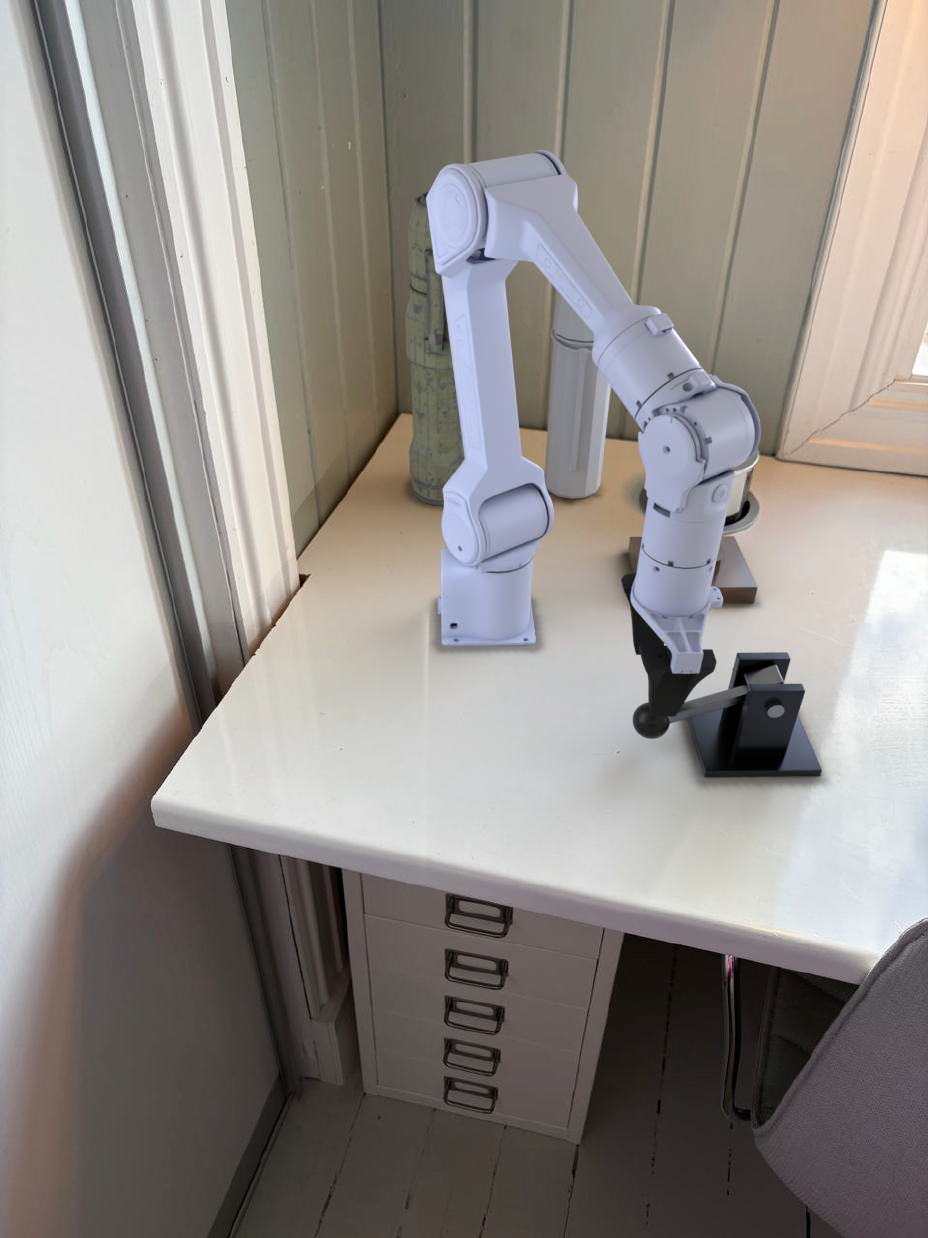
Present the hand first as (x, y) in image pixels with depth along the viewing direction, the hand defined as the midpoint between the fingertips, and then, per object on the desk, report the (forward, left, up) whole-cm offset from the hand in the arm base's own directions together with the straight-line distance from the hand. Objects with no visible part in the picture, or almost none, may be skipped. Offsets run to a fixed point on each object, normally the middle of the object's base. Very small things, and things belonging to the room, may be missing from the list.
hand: (654, 681), depth 78 cm
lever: (+5, 0, -4) cm, 7 cm away
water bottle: (-1, +45, -8) cm, 45 cm away
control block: (+10, +26, -8) cm, 29 cm away
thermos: (-17, +46, -8) cm, 50 cm away
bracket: (+10, 0, -8) cm, 12 cm away
